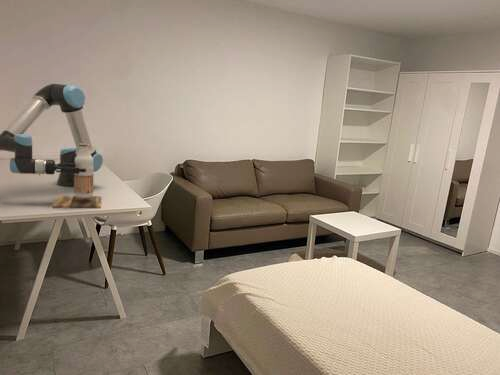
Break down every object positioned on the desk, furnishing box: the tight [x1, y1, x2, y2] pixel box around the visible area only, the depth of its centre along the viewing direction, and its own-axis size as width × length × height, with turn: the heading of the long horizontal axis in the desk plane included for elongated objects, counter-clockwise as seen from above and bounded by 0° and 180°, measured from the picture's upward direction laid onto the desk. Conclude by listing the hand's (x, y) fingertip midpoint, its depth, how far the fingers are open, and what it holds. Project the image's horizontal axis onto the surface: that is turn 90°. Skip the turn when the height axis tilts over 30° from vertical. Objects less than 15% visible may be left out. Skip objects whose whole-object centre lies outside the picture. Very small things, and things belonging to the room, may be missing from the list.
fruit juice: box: [73, 143, 95, 198], centre depth 200 cm, size 9×9×28 cm
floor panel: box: [53, 195, 102, 209], centre depth 202 cm, size 22×20×1 cm
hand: (93, 168), depth 201 cm, fingers closed on fruit juice, 9 cm apart
